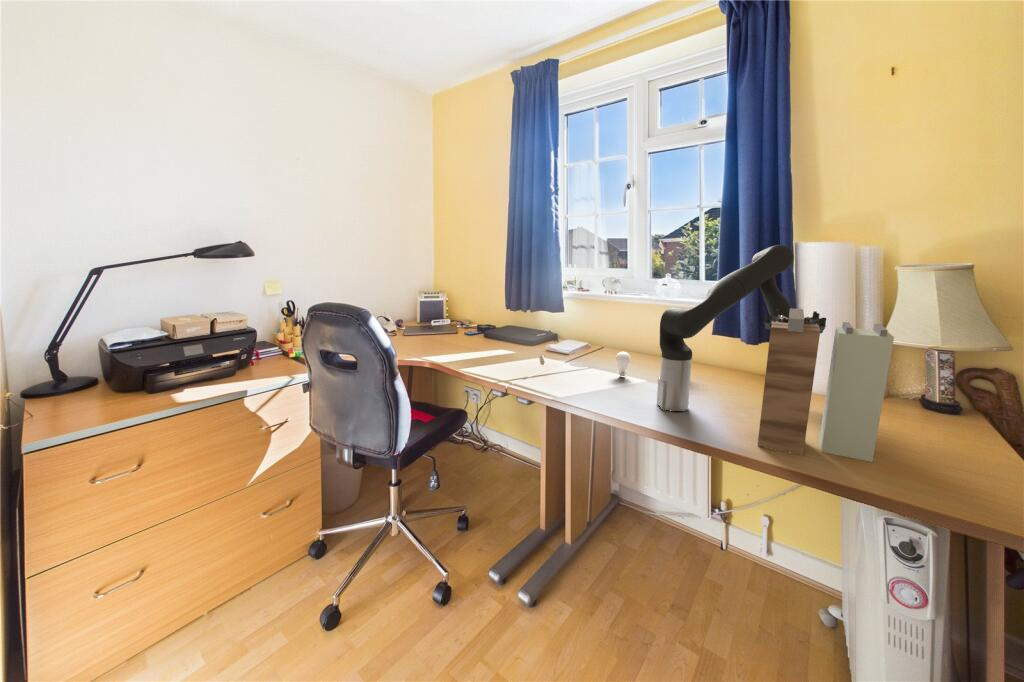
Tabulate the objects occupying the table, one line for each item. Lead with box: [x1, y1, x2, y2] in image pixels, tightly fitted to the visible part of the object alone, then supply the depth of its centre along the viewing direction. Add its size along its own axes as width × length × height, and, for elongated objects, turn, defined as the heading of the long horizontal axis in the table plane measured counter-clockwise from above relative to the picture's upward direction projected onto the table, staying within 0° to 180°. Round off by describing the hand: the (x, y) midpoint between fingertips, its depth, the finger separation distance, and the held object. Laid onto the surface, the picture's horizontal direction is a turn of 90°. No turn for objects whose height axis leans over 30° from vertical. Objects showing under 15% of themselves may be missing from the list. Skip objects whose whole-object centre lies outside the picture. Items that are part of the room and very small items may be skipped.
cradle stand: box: [819, 321, 895, 463], centre depth 105 cm, size 10×10×32 cm
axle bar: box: [788, 307, 805, 332], centre depth 107 cm, size 22×3×3 cm, turn 146°
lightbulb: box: [614, 351, 632, 377], centre depth 173 cm, size 6×6×11 cm
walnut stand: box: [757, 322, 821, 456], centre depth 109 cm, size 10×10×32 cm
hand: (795, 313), depth 113 cm, fingers open, 8 cm apart
